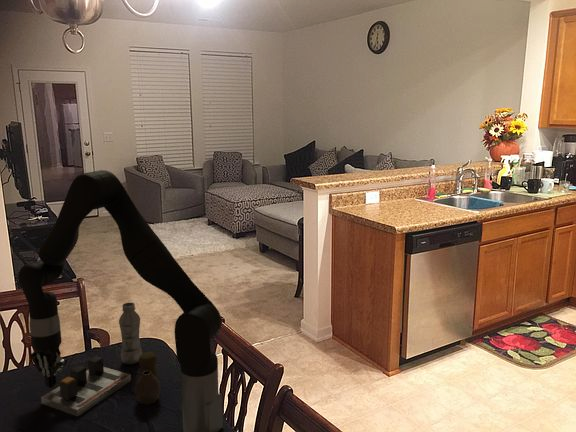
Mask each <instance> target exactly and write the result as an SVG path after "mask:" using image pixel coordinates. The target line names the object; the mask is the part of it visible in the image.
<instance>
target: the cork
mask: <svg viewBox="0 0 576 432" xmlns="http://www.w3.org/2000/svg"><path fill="white" fill-rule="evenodd" d="M157 361H158V357H157V355H156V353H154V352H152V351H147V352H144V353H143V352H142V355H140V357H139V362H138V365H139V366H140V374H139V378H140V377H141V375H142V373H143V372H144V371H151V372H152V374H153V375H154V376H155V377H156V378H157V379H158V380H159V375H158V371H157V366H156V364H157Z"/></svg>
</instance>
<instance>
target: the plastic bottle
mask: <svg viewBox="0 0 576 432" xmlns="http://www.w3.org/2000/svg"><path fill="white" fill-rule="evenodd" d="M121 307H122V314H121V315H120V317H119V319H118V325H119V329H120V335H121V351H120V359H121V360H120V361H121V362H122V363H123V364H125V365H134V364H136V363H137V364H138V363H139V357H140V355H142V354H143V349H142V347H141V342H140V341H141V340H140V325H141V317H140V315H139V314H138V312H136V306H135V303H134V302H125V303H123V304H122V306H121Z"/></svg>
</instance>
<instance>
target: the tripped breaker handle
mask: <svg viewBox="0 0 576 432" xmlns="http://www.w3.org/2000/svg"><path fill="white" fill-rule="evenodd" d="M59 386H60V393H61V397H62V398H64V399H67V400H69V399H71V398H73V397H74V396H76V395H77V384H76V380H74V378H71V376H67V377H65V378H63V379H62V380H60V382H59Z"/></svg>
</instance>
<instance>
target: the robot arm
mask: <svg viewBox="0 0 576 432" xmlns="http://www.w3.org/2000/svg"><path fill="white" fill-rule="evenodd" d="M102 208H104V209H105V210H106V211H107V212H108V214H109V215H110V216H111V218H112V219H113V220H114V222H115V224H116V225H117V226H118V227H117V228H118V230H119V234H120V240H121V245H122V250H123V254H124V256H125V258H126V259H127V261H128V262H129V264H130V265H131V266H132V268H133V269H134V270H135V272H136V273H137V274H138V275H139V277H140V278H142V279H143V281H145V282H147V283H148V284H150V285H151V286H153V287H155V288H157V289H159V290H160V291H162V292H164V293H165V294H167V295H168V296H169V297H171V298H172V300H174V302H175V303H176V304H177V305H178V306H179V308H180V309H181V311H182V312H183V313H181V314H180V315H179V316H178V317H177V319H175V320H176V321H175V324H174V340H175V342H174V344H175V350H176V351H175V352H176V353H175V354H176V359H177V361H178V363H179V365H180V387H181V407H182V408H181V409H182V412H181V413H182V431H183V432H220V430H221V429H222V428H223V427H224V425H223V423H224V422H223V417H224V416H223V395H222V393H221V392H219V362H218V361H219V359H218V355H217V354H216V353H215V352H214V351H212V350H211V339H212V338H213V337H214V336H215V335H216V334H217V333H218V331H220V330H221V327H222V322H223V321H222V316H221V314H220V313H221V312H220V311H219V310H218V308H217V307H216V305H215V304H214V303H213V302H212V301H211V300H210V299H209V297H207V296H206V294H204V292H203V291H202V289H200V288H199V287H198V286H197V285H196V284H195V282H194V281H193V280H192V279H191V278H190V277H189V275H188V274H187V273H186V271H185V270H184V269H183V268H182V267H181V266H180V264H179V263H178V261H177V260H176V259H175V258H174V256H173V254H172V253H171V251H170V250H169V249H168V248H167V246H166V245H165V244H164V243H163V241H162V240H161V239H160V237H159V236H158V235H157V234H156V233H155V231H154V230H153V229H152V227H151V226H150V225H149V223H148V222H147V221H146V219H145V218H144V216H143V215H142V214H141V212H140V211H139V209H138V208H137V206H136V205H135V203H134V201H133V200H132V199H131V196H130V195H129V194H128V192H127V190H126V188H125V187H124V185H123V184H122V182H121V180H120V179H119V177H117V175H115V174H114V173H113V172H111V171H108V170H103V169H102V170H96V171H95V170H94V171H90V172H89V171H88V172H84V173H81V174H79V175H77V176H76V177H74V179H73V180H72V182H71V184H70V186H69V188H68V190H67V194H66V196H65V199H64V201H63V203H62V206H61V209H60V211H59V213H58V217H57V219H56V221H55V223H54V225H53V227H52V228H51V230H50V232H49V233H48V235H47V236H46V238H45V239H44V241H43V242H42V244H41V245H40V246H39V250H38V258H39V259H38V260H35V261H32V262H29V263H26V264H24V265H23V266H21V268H20V270H19V272H18V274H17V275H18V279H17V280H18V284H19V285H20V288H21V289H22V290H21V291H22V292H23V294H24V297H25V300H26V301H27V305H28V313H29V332H30V343H31V349H32V350H33V352H31V353H30V354H29V358H30V359H31V361H32V362H33V364H34V366H35V367H36V369H37V371H38V373H42V376H44V384H45V387H46V388H48V389H51V388H52V389H53V388H54V387H55V386H56V385H57V377H56V375H58V374H60V373H62V371H63V369H65V366H66V365H67V363H68V359H67V358H62V356H61V355H62V354H61V351H60V345H61V344H62V331H61V329H62V328H61V320H60V316H59V311H58V308H59V307H58V300H57V295H56V294H55V293H54V292H52V291H44V289H43V287H45V286H47V285H49V284H52V283H54V282H56V281H57V280H58V279H60V277H61V275H62V274H63V271H64V268H65V264H66V260H67V259H68V257H69V256H70V254H71V253H72V252H73V250H74V248H75V247H76V245H77V243H78V240H79V236H80V235H79V233H80V225H81V224H82V222H83V221H84V220H85V219H86V217H88V215H89V214H90V213H91V212H93V210H94V211H95V210H99V209H102Z"/></svg>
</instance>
